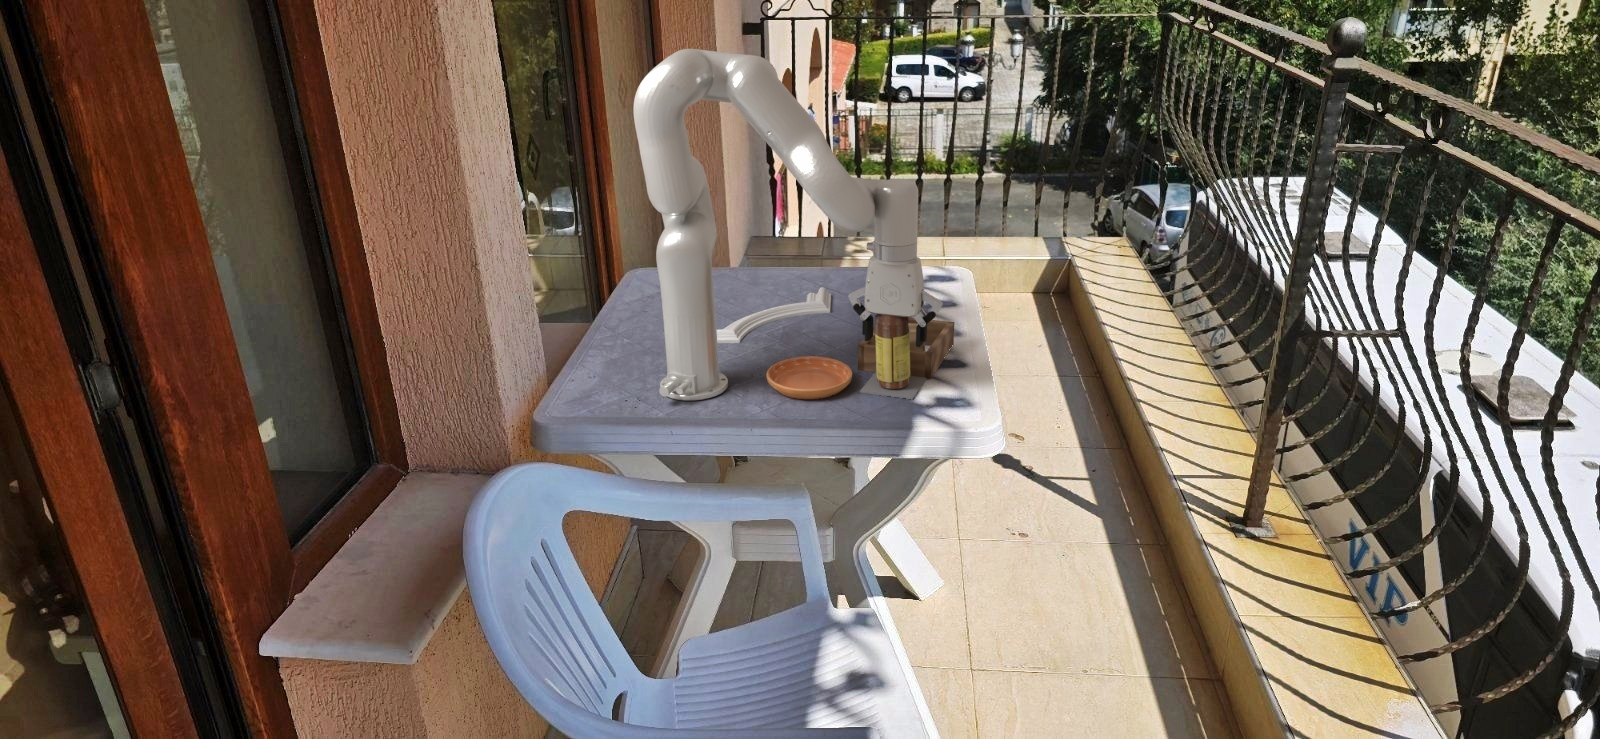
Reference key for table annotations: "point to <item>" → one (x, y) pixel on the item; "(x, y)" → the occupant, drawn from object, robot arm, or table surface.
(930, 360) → the rack
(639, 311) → the table surface
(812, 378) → the saucer
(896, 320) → the sauce bottle
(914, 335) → the offcut upper
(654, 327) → the table surface
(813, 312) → the molding
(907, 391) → the mat
